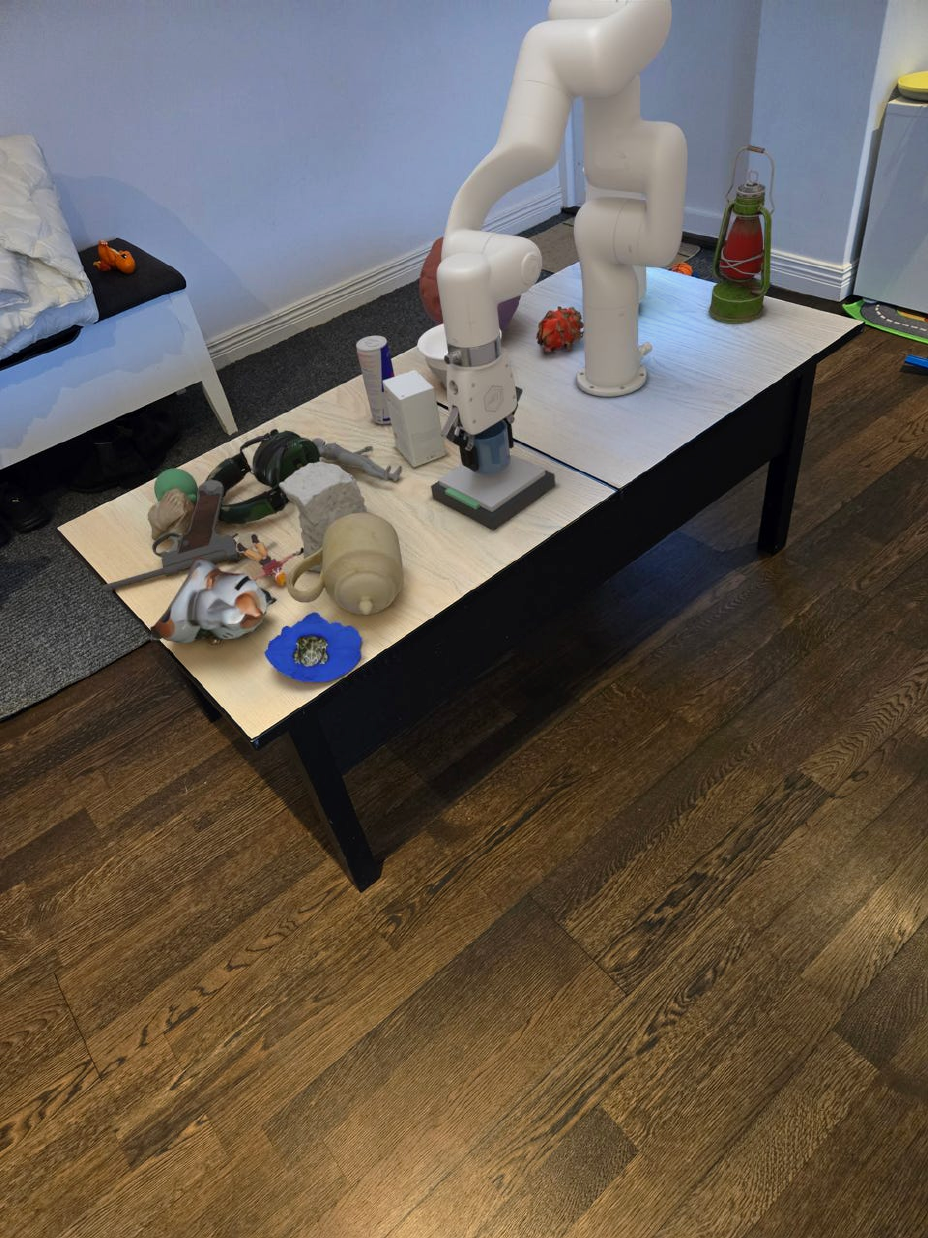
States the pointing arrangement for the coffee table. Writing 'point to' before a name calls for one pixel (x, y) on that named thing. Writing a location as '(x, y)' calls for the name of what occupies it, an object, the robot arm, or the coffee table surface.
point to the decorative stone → (321, 501)
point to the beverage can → (376, 374)
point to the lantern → (743, 253)
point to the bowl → (436, 351)
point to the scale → (493, 491)
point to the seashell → (171, 514)
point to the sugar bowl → (355, 565)
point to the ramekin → (492, 448)
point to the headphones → (263, 474)
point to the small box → (414, 417)
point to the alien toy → (176, 484)
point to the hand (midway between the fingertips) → (488, 455)
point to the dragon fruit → (560, 329)
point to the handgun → (192, 540)
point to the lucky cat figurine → (212, 606)
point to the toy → (315, 649)
